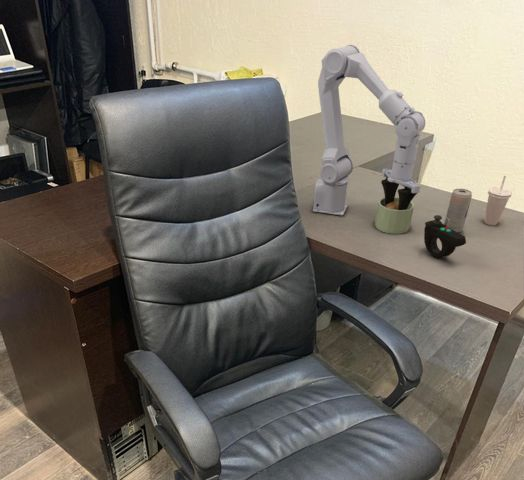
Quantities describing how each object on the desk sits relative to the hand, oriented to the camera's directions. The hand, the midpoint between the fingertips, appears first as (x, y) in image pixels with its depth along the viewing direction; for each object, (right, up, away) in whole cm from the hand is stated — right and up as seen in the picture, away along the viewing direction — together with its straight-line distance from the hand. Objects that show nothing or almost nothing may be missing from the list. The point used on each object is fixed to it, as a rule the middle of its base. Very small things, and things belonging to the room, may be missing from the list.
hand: (395, 208), depth 151 cm
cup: (0, -4, +3) cm, 5 cm away
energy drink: (+17, -7, +1) cm, 18 cm away
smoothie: (+31, -2, +7) cm, 31 cm away
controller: (+9, -16, -11) cm, 21 cm away
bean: (0, -2, +2) cm, 3 cm away
